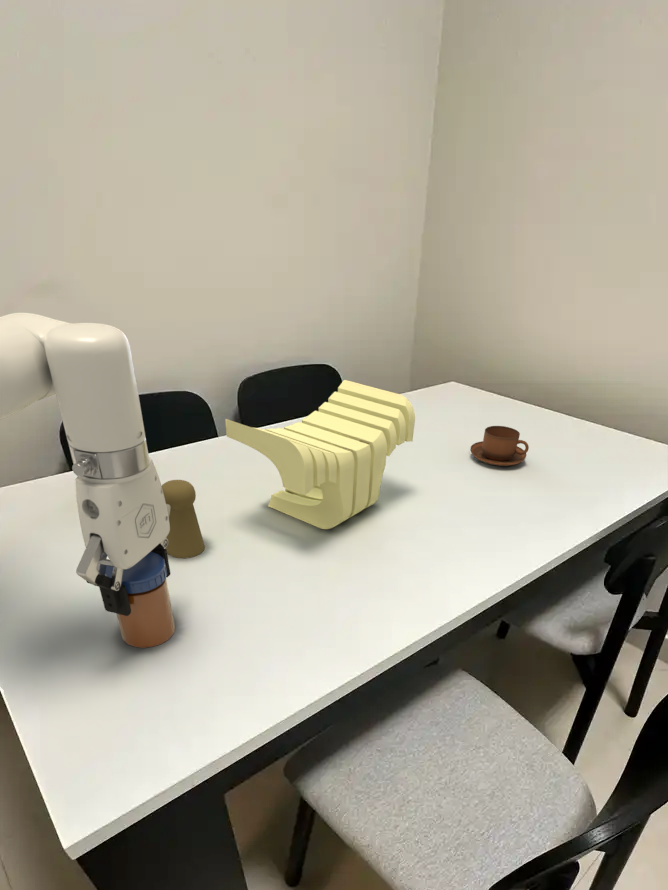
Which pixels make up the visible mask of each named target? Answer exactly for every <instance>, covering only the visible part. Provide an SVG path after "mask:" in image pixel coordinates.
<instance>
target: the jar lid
mask: <svg viewBox="0 0 668 890" xmlns="http://www.w3.org/2000/svg"><path fill="white" fill-rule="evenodd" d="M112 572H113V567H112V566H108V565H107V566H106V572H105V576H107V577H110V578H112ZM166 576H167V569H166V564H165V561H164V559H163V558H162V557H161V556H160V555H159V554H157V553H154V552H149V553H148V554H147V555H146V556H145V557H143V558H142V559H141V560H140V561H139V562H138V563H136V564H135V565H134V566H132V567H131V568H129V569H124V570H123V576H122V582H121V585H123V586H125V587H126V590H127V593H129V594H132V593H141V592H146V591H149V590H152V589H154V588H156V587H158V586H159V585H161V584H162V583H163V582H164V580H165V579H166V580H167V577H166Z"/></svg>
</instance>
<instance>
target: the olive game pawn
mask: <svg viewBox="0 0 668 890" xmlns="http://www.w3.org/2000/svg"><path fill="white" fill-rule="evenodd" d="M161 486H162V490H163V494H164V498H165V502H166V504H168V505H170V506H171V510H170V515H169V524H170V531H169V534H168V535H167V537H166V538H167V539H168V546H167V547H166V548H165V549H166V550H167V555H169V556H170V557H173V558H177V559H188V558H189V559H190V558H193V557H197V556H199V555H200V554H202V553H203V552H204V550H205V549H206V545H205V542H204V538H203V534H202V531H201V527H200V524H199V520H198V517H197V513H196V510H195V505H194V504H195V501H196V499H197V498H196V496H197V494H196V490H195V487H194V486H193V484H192V483H191V482H189V481H187V480H184V479H171V480H168V481H166V482H164V483H163V484H161Z"/></svg>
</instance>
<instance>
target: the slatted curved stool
mask: <svg viewBox="0 0 668 890" xmlns="http://www.w3.org/2000/svg"><path fill="white" fill-rule="evenodd" d="M327 400H328V401H324V402H323V403H322V404H321V405H320V406H318V410H314V411H312V412H311V413H310V414H308V415H307V416H306V417H304V418H302V419H301V422H300V421H297V422H294V423H292V424H290V425H286V426H283V428H281V427H276V428H264V429H263V428H259V427H253V426H248V425H245V424H242V423H240V422H236V421H234V420H231V419H228V418H224V421H225V433H226V437H227V438H228V439H232V440H235V441H236V442H239V443H241V444H244V445H246V446H248V447H249V448H252V449H253V450H256V451H257V452H258V453H260V454H262V455H263V456H264V457H265V458H267V460H269V461H270V462H271V463H272V464H273V465H274V466H275V468H276V470H277V471H278V473H279V476H280V479H281V483H282V487H283V488H284V490H283V489H281V490H278V491H277V492H275V493H273V494H271V495H270V500H269V502H268V505H267V507H268V508H271V509H274V510H275V511H278V512H280V513H283V514H286V515H287V516H290V517H292V518H295V519H297V520H300V521H302V522H304V523H306V524H309V525H311V526H314V527H316V528H318V529H322V530H330V529H333V528H334V527H337V526H338V525H340V524H341V523H343V522H345V521H346V520H348V519H350V518H352V517H353V516H355V515H357V514H359V513H360V512H362V511H363V510H365V509H367V508H369V507H370V506H372V505H375V504H376V503H377V501H378V500H379V497H380V491H381V485H382V480H383V475H384V472H385V468H386V464H387V457H390V456H391V455H392V453H393V452H394V450H396V448H397V446H400V445H402V444H404V443H405V442H406V443H409V442H410V443H411V442H413V441H414V431H415V425H416V414H415V413H416V412H415V409H414V406H413V404H412V402H411V401H410V400H409V399H408V398H407V397H406V396H404V395H403V394H400V393H397V392H392V391H389V390H384V389H381V388H376V387H374V386H370V385H366V384H362V383H359V382H356V381H355V382H354V381H351V380H347V379H344V380H343V381H342V382H341V383H340V384H339V386H338V387H337V391H333V392H332V393H331V395H330V396H329V397H328V399H327Z"/></svg>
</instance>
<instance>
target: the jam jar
mask: <svg viewBox="0 0 668 890" xmlns="http://www.w3.org/2000/svg"><path fill="white" fill-rule="evenodd" d="M127 594H128V599H129V603H130V608H131V613H130V614H129V615H128V616H124V615H120V614H116V619H117V622H118V626H119V630H120V633H121V637H122V640H123V641H124V643H126V644H127V645H129V646H131V647H134V648H140V649H141V648H142V649H143V648H144V649H145V648H153V647H157V646H159V645H162V644H164V643H166V642H167V641H169V640H170V639H171V638H172V637H173V635H174V634H175V631H176V626H175V620H174V615H173V609H172V608H173V607H172V603H171V597H170V591H169V586H168V581H167V578H166V579H165V580H164V582H163V583H162V584H161V585H159V586H158V587H156V588H154V589H152V590H149V591H146V592H141V593H132V594H129V593H127Z"/></svg>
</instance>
